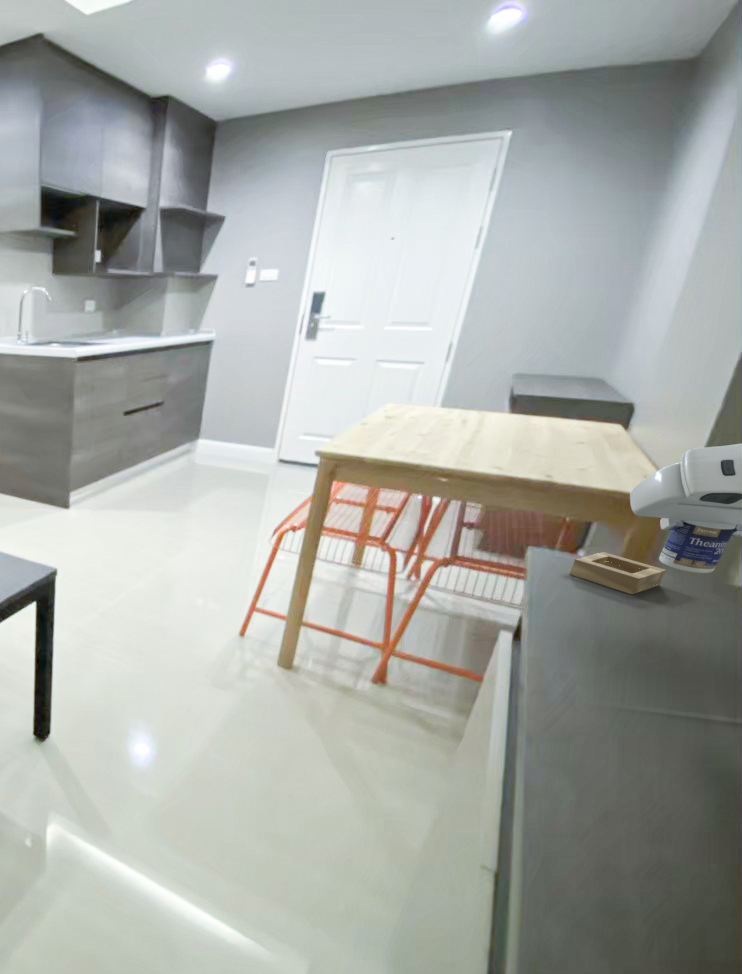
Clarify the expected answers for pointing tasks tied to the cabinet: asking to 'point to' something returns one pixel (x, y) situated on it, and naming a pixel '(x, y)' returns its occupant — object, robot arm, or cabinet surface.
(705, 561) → the pill bottle
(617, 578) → the socket pad
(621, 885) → the cabinet surface
